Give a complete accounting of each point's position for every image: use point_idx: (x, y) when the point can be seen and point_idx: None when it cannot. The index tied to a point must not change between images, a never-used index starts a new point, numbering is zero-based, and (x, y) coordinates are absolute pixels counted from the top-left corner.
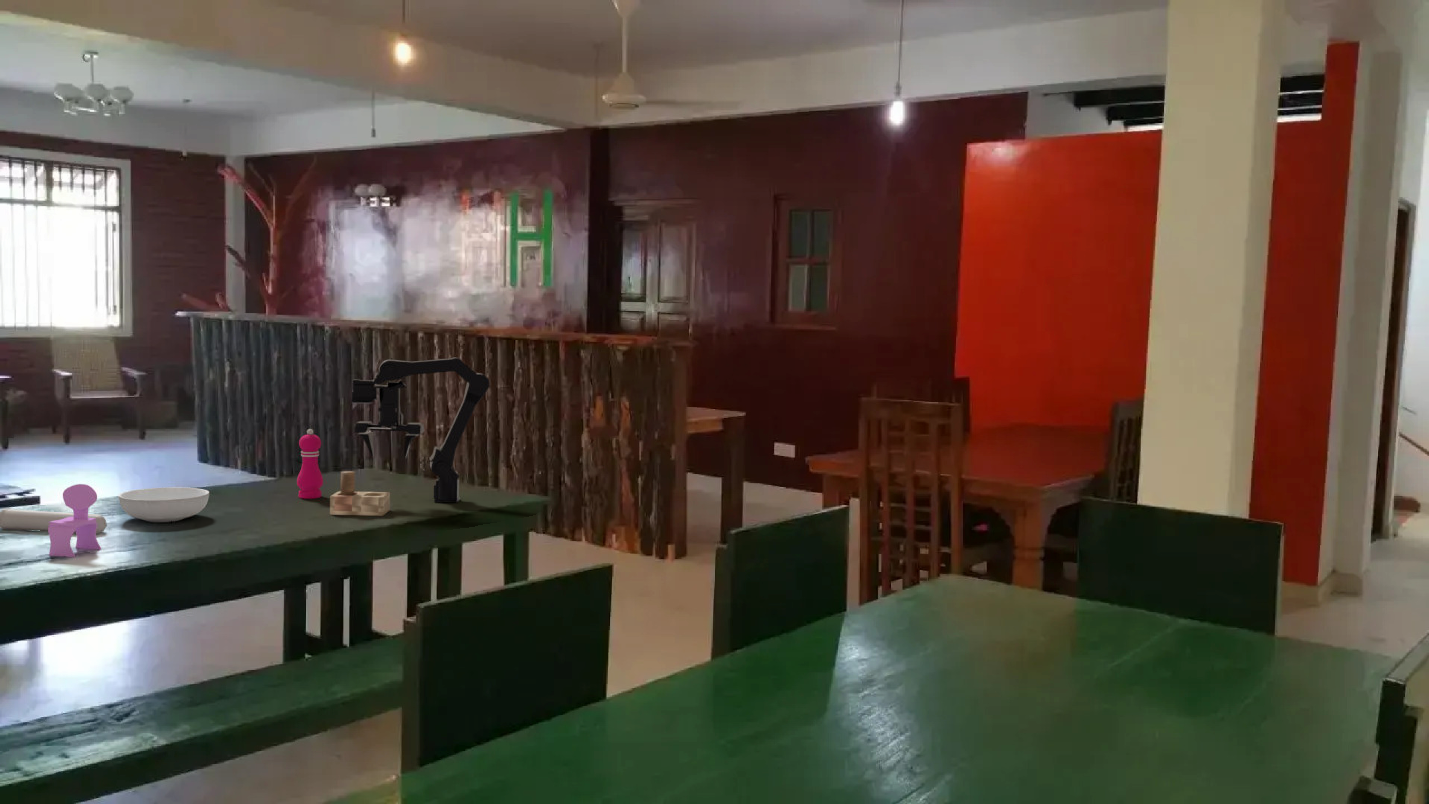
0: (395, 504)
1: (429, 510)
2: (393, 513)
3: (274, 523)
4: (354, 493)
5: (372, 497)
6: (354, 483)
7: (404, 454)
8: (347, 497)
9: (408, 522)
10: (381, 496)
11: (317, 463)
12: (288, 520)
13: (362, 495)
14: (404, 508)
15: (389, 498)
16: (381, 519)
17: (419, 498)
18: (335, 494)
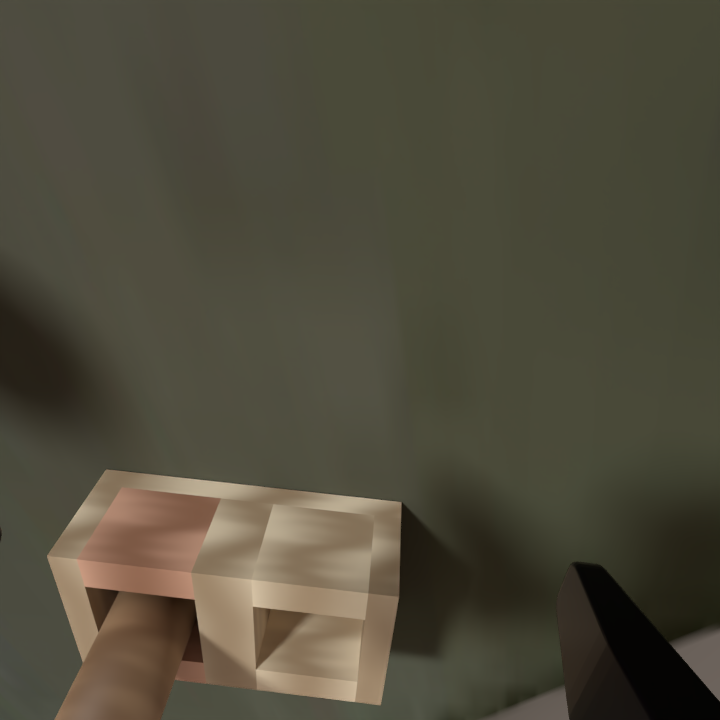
0: (416, 332)
1: (641, 512)
2: (431, 569)
3: (9, 683)
4: (187, 633)
5: (321, 695)
6: (163, 703)
7: (577, 689)
8: (182, 674)
9: (511, 707)
10: (367, 688)
11: None
12: (25, 651)
13: (251, 662)
14: (487, 458)
15: (398, 566)
16: (390, 662)
17: (629, 23)
18: (86, 634)
